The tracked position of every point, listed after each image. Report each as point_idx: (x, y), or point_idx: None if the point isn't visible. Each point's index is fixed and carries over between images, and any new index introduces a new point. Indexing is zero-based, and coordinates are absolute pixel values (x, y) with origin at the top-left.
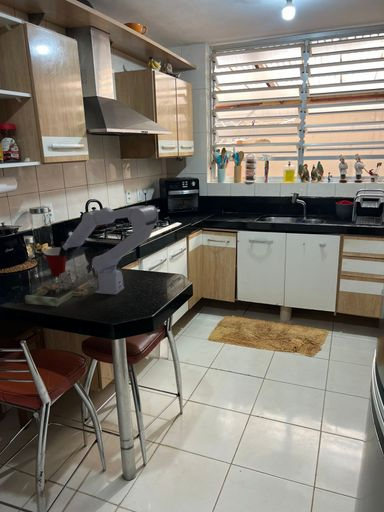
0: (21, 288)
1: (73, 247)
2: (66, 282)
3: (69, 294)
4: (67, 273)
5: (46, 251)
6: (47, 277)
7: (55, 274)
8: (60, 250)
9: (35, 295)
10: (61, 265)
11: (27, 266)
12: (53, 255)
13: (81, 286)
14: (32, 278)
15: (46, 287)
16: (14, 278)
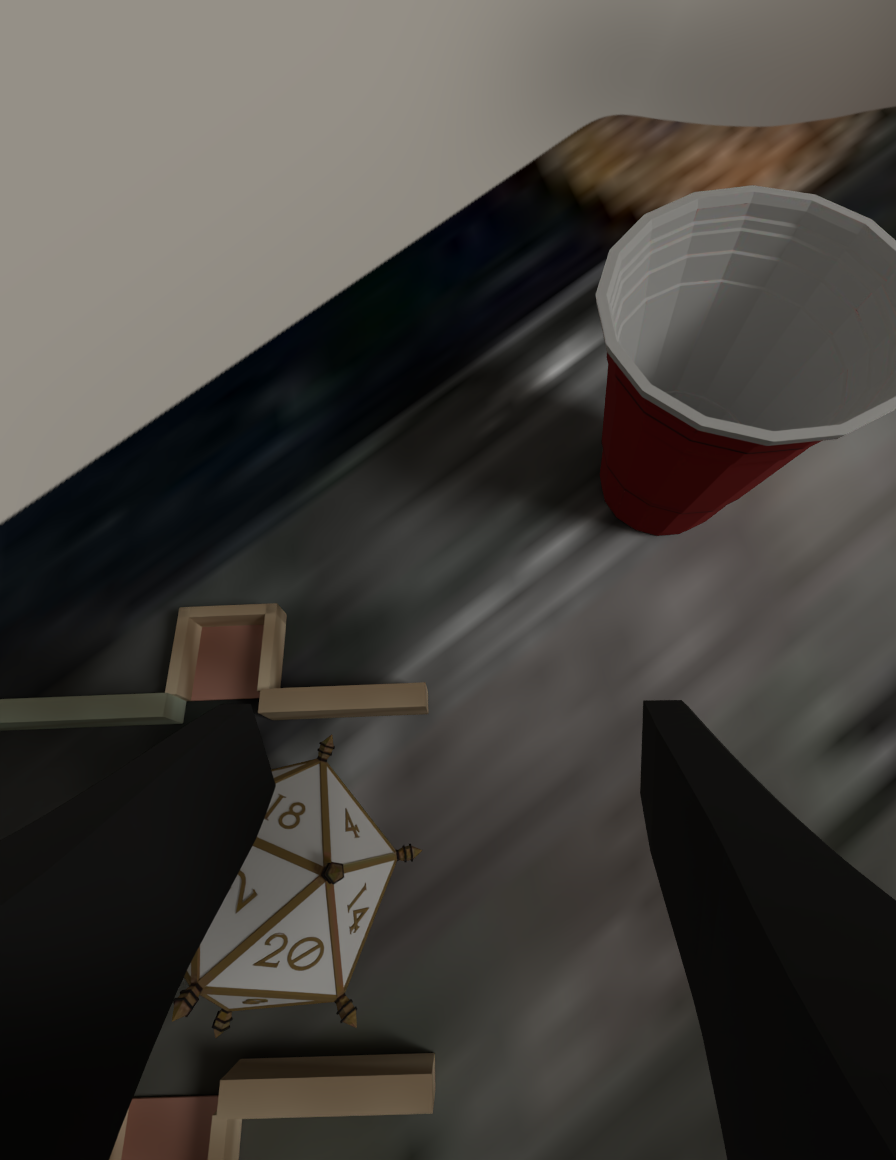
0: (277, 444)
1: (660, 814)
2: None
3: None
4: (216, 937)
5: (714, 216)
6: (554, 454)
7: (603, 491)
8: (87, 803)
9: (13, 723)
10: (672, 493)
11: (713, 178)
12: (629, 375)
13: (272, 1111)
14: (497, 369)
15: (264, 651)
16: (462, 268)
